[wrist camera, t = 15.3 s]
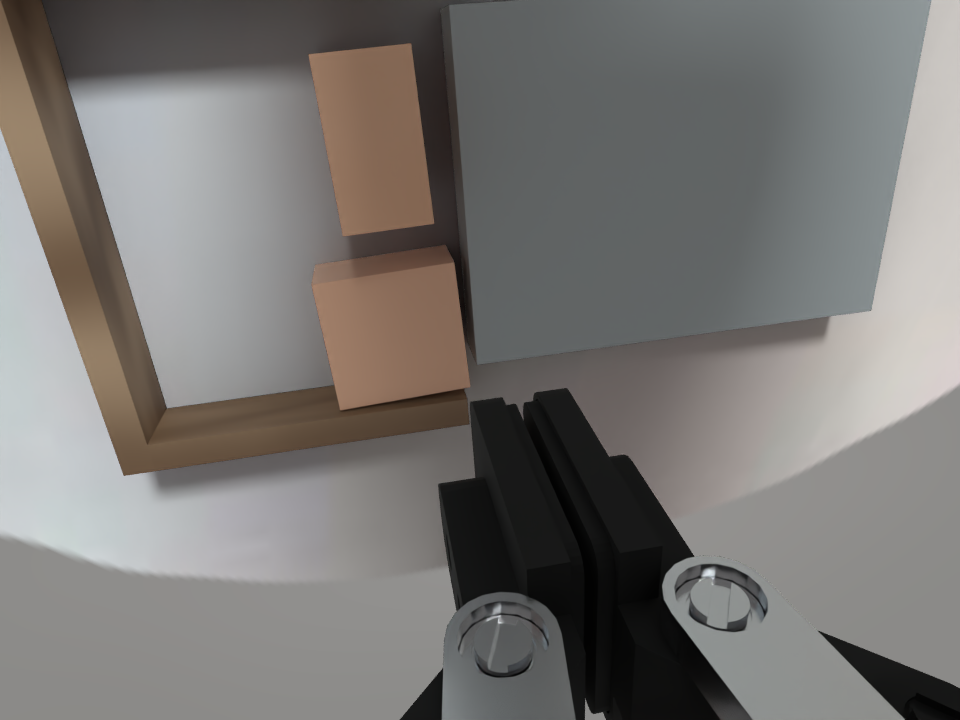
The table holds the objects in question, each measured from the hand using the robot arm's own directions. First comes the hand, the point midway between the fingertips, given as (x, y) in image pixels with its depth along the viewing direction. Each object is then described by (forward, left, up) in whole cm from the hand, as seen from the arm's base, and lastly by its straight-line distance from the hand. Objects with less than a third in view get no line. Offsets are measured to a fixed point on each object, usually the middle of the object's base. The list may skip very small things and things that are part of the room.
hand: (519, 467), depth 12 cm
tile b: (+2, -2, -13) cm, 14 cm away
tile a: (-5, 0, -11) cm, 12 cm away
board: (-2, +8, -13) cm, 16 cm away
